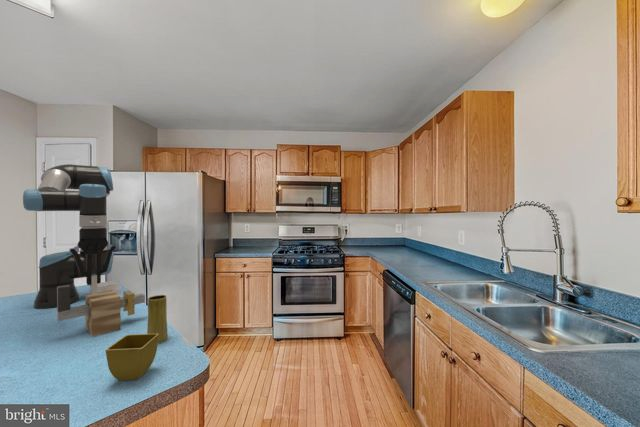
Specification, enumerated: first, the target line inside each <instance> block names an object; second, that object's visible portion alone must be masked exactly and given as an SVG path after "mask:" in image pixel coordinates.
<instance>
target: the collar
mask: <svg viewBox="0 0 640 427" xmlns="http://www.w3.org/2000/svg"><path fill="white" fill-rule="evenodd" d="M122 294H123V295H122V297H125V298H127V299H128V306H126V307H122V308H123V310H122V311H123V312H124V313H125V312H127V316H132V315H135V313H136V312H135V306H136V305H135V300H134V295H135V293H134V292H133V291H131V290H130V289H129V290H123V291H122Z"/></svg>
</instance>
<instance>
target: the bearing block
mask: <svg viewBox="0 0 640 427" xmlns="http://www.w3.org/2000/svg"><path fill="white" fill-rule="evenodd" d="M120 298H121V295H120V296H119V295H118V294H117V293H116V292H114V291H113V290H109V291H103V292H98V293H97V294H91V293H87V294H85V305H86V304H89V305H90V315H85V328H86V329H87V331H88V332H89V334H90V335H91V337H92V338H93V337H97V336H102V335H105V334H107V333H111V332H115V331H119V330H121V319H122V318H121V308H120Z"/></svg>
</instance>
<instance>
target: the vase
mask: <svg viewBox="0 0 640 427" xmlns="http://www.w3.org/2000/svg"><path fill="white" fill-rule="evenodd" d="M147 301H148V302H147V328H146V329H147V331H146V334H159V337H158V344H160V343H163V342H165V341H167V340H168V339H169V335H168V320H167V313H168V312H167V294H166V295H165V294H157V295H153V296H149V297H148V298H147Z"/></svg>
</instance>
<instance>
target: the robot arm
mask: <svg viewBox="0 0 640 427" xmlns="http://www.w3.org/2000/svg"><path fill="white" fill-rule="evenodd" d="M40 181H41V182H40V184H39V185H38V188H33V189H32V188H31V189H25V190H24V191H23V195H22V205H23V208H24V210H26V211H31V212H79V220H78V222H79V224H78V225H79V227H80V229H79V233H78V234H79V236H78V237H79V241H78V242H77V245H76V246H74V247H72V248H69V250H68V251H60V252H59V251H58V252H54V253H50V254H45V255H43V256H42V257H40V258H39V266H38V269H39V274H38V275H39V283H38V284H39V289H38V292H37V294H36V296H35V299H34V301H33V308H36V309H51V308H57V286H63V285H70V305H72V304H73V303H76V302H78V301H79V300H80V293H79V292H78V289H77V288H76V285H75V279H81V278H82V279H83V278H86V285H87V286H90V287H89V290H90V293H89V294H97V284H99V283H102V278H101V277H102V276H106V275H108V274H110V273H111V272H112V269H113V263H114V256H115V255H114V252H115V249H116V247H117V246H116V245H114V244H113V245H112V244H110V243H109V241H108V237H107V234H108V233H107V231H108V230H107V197H108V196H110V195H111V192H113V191H114V183H113V178H112V173H111V170H110V168H108V167H103V166H98V165H97V166H95V165H94V166H93V165H81V164H80V165H79V164H60V165H56V166H53V167H50V168H47V169H46V170H45V171H43V173H42V174H41V176H40Z"/></svg>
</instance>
